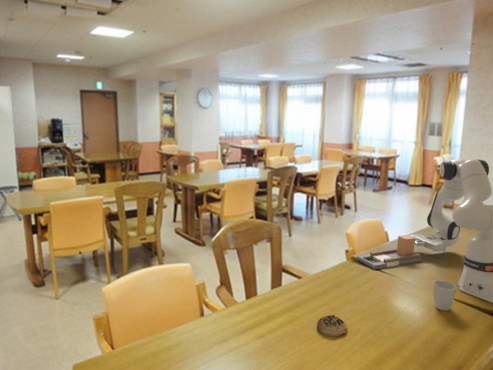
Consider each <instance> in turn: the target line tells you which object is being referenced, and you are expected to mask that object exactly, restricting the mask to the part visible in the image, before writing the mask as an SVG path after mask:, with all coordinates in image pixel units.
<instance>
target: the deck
mask: <svg viewBox="0 0 493 370" xmlns="http://www.w3.org/2000/svg"><path fill="white" fill-rule="evenodd" d="M356 260H357V261H359V262H360V263H362V264H364V265H365V266H367V267H369V268H371V269H373V270H377V269H383V268H389V267H395V266H402V265H407V264H413V263H418V262H422V260H423V259H422V257H421V254H420V253H419V252H418V253H414V254H412V255H406V256H402V255H400V254H398V253H397V247H396V248H391V249H384V250H378V251H370V252H369V254H360V255H357V256H356Z"/></svg>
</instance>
